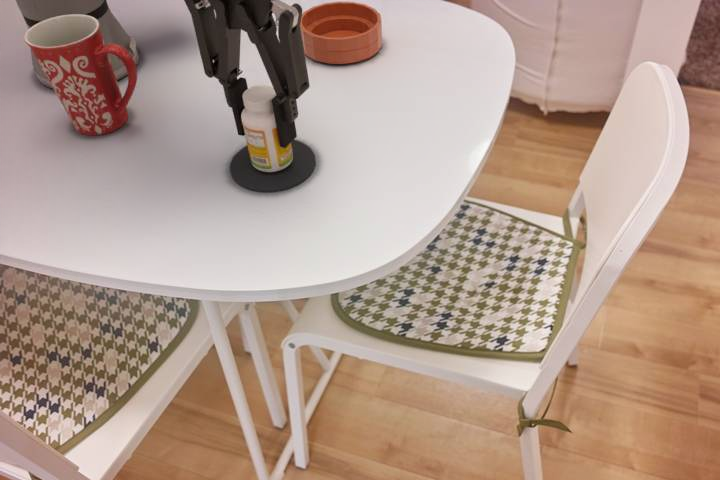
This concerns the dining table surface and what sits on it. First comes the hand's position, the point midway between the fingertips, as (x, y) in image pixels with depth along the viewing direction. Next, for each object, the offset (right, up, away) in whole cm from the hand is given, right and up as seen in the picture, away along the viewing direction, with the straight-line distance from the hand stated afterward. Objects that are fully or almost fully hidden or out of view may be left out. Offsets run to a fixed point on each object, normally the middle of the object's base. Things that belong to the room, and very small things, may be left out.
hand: (267, 135), depth 76 cm
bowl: (+7, +20, +25) cm, 33 cm away
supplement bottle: (0, -3, +3) cm, 4 cm away
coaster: (0, -3, +3) cm, 5 cm away
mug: (-24, +4, +10) cm, 27 cm away
